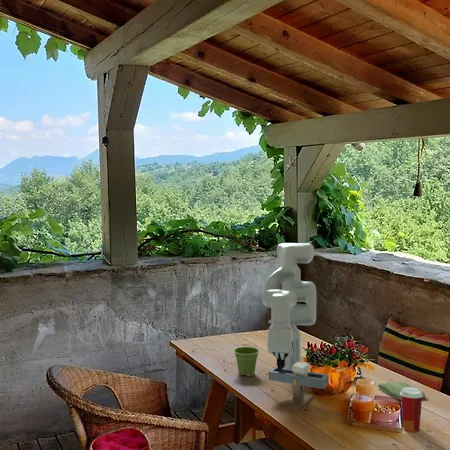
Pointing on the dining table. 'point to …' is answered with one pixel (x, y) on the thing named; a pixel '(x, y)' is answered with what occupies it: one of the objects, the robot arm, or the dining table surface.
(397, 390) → the washcloth
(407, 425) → the paper cup
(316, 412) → the dining table surface
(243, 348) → the plant pot
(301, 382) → the balance beam
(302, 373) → the rider
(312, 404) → the dining table surface
